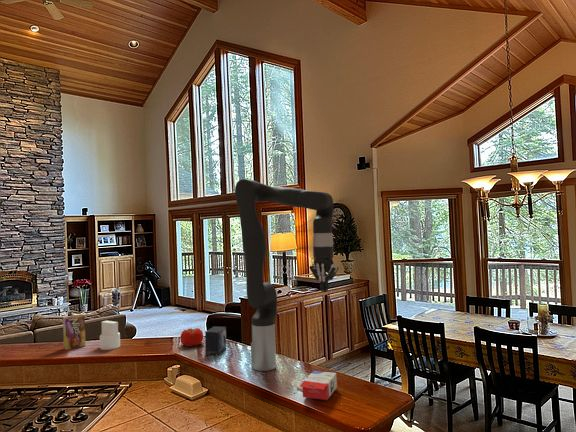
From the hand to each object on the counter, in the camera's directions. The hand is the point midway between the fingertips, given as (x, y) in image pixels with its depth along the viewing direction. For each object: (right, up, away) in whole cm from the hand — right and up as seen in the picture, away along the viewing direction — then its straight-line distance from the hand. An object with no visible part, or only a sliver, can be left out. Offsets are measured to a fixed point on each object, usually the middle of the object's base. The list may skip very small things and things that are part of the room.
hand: (324, 291), depth 158 cm
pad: (-5, -31, -14) cm, 34 cm away
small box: (-46, -33, +32) cm, 65 cm away
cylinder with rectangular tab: (-99, -35, +46) cm, 115 cm away
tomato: (-60, -34, +45) cm, 82 cm away
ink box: (-1, -28, -13) cm, 30 cm away
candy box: (-117, -36, +47) cm, 131 cm away
